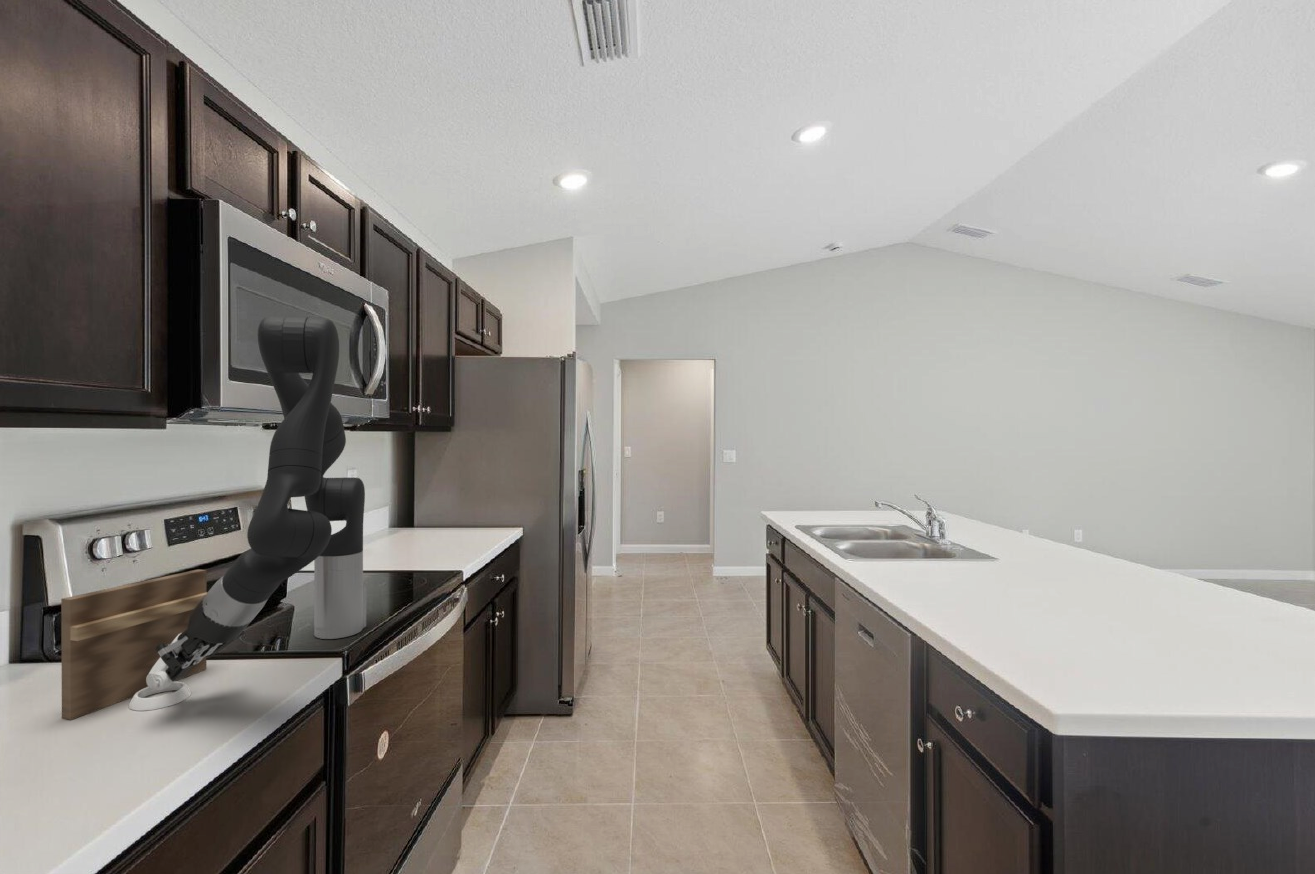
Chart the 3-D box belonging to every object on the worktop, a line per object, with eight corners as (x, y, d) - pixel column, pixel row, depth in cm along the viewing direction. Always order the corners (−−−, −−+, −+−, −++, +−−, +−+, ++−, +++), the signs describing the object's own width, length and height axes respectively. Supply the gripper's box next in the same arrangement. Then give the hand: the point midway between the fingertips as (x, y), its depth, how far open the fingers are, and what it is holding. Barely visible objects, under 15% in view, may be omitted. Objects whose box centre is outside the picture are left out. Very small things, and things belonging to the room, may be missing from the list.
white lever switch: (233, 653, 102) (202, 642, 96) (181, 726, 96) (145, 718, 90) (202, 639, 104) (170, 627, 99) (150, 709, 98) (112, 701, 93)
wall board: (198, 667, 109) (198, 569, 109) (212, 670, 108) (212, 570, 108) (61, 718, 90) (61, 598, 89) (77, 721, 89) (77, 600, 88)
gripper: (258, 576, 99) (203, 642, 102) (173, 597, 86) (113, 672, 89) (283, 611, 97) (226, 677, 101) (200, 638, 84) (139, 712, 88)
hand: (173, 675), depth 95 cm, fingers closed
